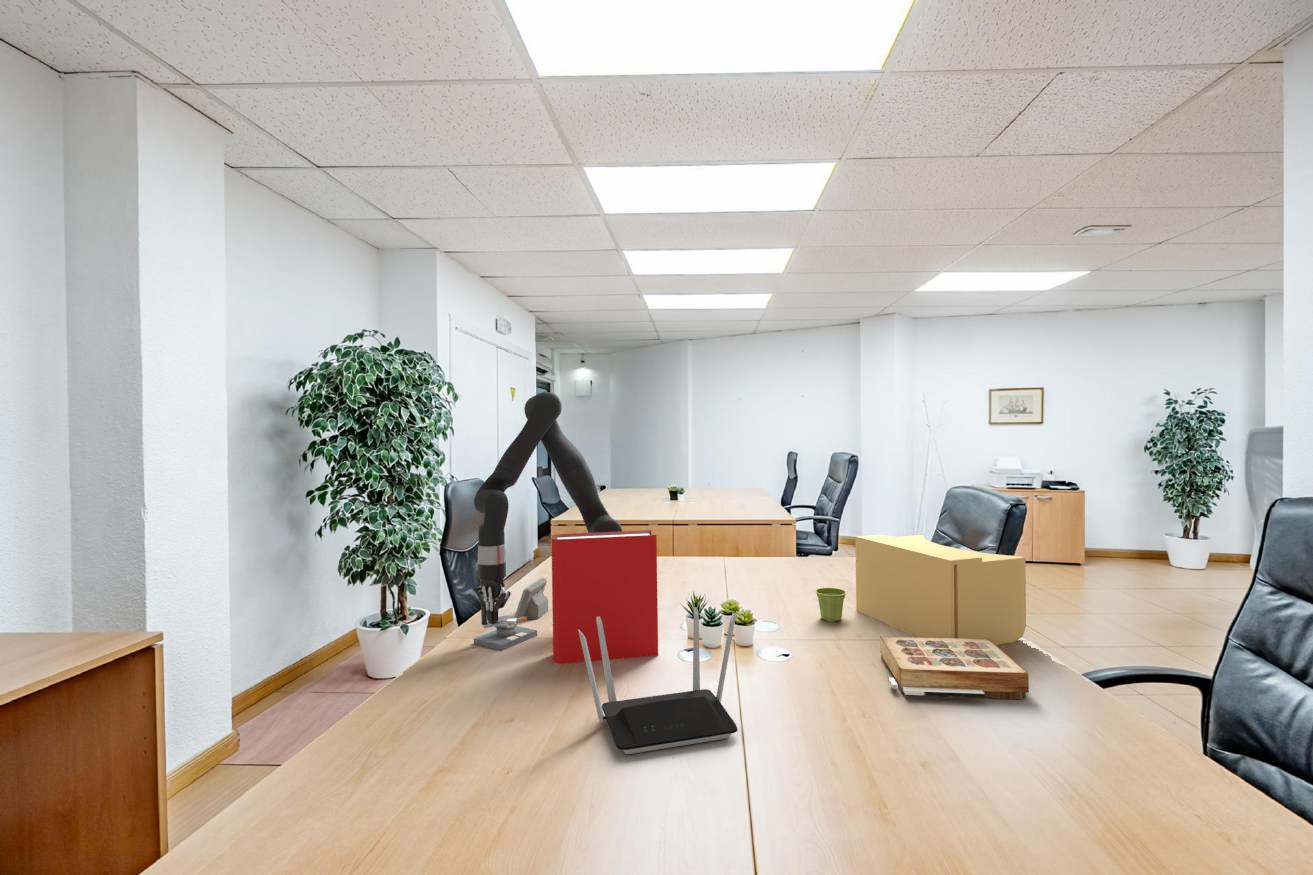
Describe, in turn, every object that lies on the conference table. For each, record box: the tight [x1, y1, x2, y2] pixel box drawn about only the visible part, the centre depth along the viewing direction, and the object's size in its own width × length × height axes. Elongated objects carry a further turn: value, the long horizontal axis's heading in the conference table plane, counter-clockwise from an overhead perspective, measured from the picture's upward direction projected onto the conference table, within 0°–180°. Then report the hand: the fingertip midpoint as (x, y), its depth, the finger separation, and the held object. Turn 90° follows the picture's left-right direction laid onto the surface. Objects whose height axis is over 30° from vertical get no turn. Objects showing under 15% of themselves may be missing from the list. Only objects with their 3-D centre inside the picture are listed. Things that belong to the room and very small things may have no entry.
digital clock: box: [514, 577, 549, 620], centre depth 196 cm, size 16×9×11 cm, turn 158°
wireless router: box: [578, 606, 739, 755], centre depth 122 cm, size 34×23×20 cm
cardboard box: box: [855, 534, 1027, 646], centre depth 181 cm, size 40×26×24 cm, turn 18°
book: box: [550, 529, 659, 665], centre depth 160 cm, size 27×8×32 cm, turn 100°
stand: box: [473, 625, 538, 651], centre depth 173 cm, size 11×14×4 cm
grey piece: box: [480, 604, 528, 629], centre depth 172 cm, size 6×13×8 cm, turn 120°
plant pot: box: [815, 587, 847, 622], centre depth 187 cm, size 9×9×9 cm
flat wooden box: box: [879, 635, 1030, 700], centre depth 140 cm, size 25×6×28 cm
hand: (493, 623), depth 166 cm, fingers closed
